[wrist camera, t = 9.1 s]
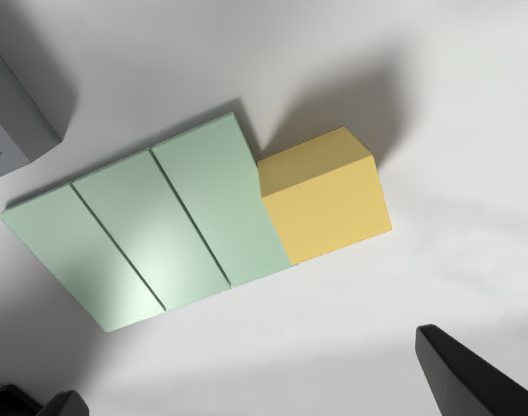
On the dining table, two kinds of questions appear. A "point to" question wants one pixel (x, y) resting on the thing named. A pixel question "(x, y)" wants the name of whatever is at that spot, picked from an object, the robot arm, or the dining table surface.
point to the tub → (20, 126)
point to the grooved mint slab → (199, 218)
